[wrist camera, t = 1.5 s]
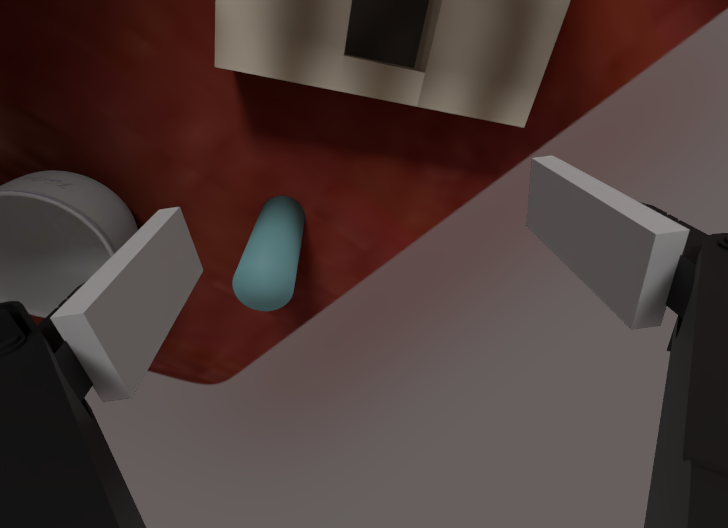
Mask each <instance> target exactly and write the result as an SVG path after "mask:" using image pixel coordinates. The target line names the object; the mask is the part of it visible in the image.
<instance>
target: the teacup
mask: <svg viewBox="0 0 728 528" xmlns="http://www.w3.org/2000/svg"><path fill="white" fill-rule="evenodd" d="M137 231H138V228H137V225H136V222H135V219H134V217H133V215H132V213H131V211H130V210H129V208H128V207H127V206H126V204H125V203H124V202H123V201H122V200H121V198H120V197H119V196H117V195H116V194H115V193H114V192H113V191H112V190H110V189H109V188H107V187H106V186H104V185H103V184H101V183H100V182H98V181H96V180H93V179H91V178H89V177H86V176H83V175H80V174H77V173H72V172H67V171H56V170H51V171H40V172H35V173H31V174H27V175H24V176H21V177H19V178H16V179H14V180H12V181H10V182H7V183H5V184H3V185H1V186H0V303H2V302H8V301H19V302H20V303H22V304H23V305H24V307H25V308H26V310H27V311H28V313H29V314H31V315H34V316H38V317H44V318H46V317H47V316H48V315H49V314H50V313H51V312H52V311H53V310H54V309H55V308H58V305H59V304H60V303H61V302H62V301H63V300H64V299H67V296H69V295H70V294H71V293H72V292H73V291H74V290H75V289H76V288H77V287H78V286H79V285H81V284H83V283H84V282H86V281H87V280H89V279H90V278H91V277H92V276H93V275H94V274H95V273H96V272H97V271H98V270H99V269H100V268H101V267H102V266H103V265H104V264H105V263H106V262H107V261H108V260H109V259H110V258H111V257H112V256H113V255H114V254H115V253H116V252H117V251H118V250H119V249H120V248H121V247H122V246H123V245H124V244H125V243H126V242H127V241H128V240H129V239H130V238H131V237H132V236H133V235H134V234H135V233H136V232H137Z"/></svg>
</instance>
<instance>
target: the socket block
mask: <svg viewBox="0 0 728 528" xmlns="http://www.w3.org/2000/svg"><path fill="white" fill-rule="evenodd" d="M570 1H571V0H216V9H215V67H218V68H223V69H228V70H233V71H238V72H243V73H249V74H254V75H259V76H264V77H269V78H274V79H279V80H284V81H289V82H294V83H299V84H304V85H309V86H315V87H320V88H325V89H330V90H335V91H340V92H345V93H350V94H355V95H360V96H365V97H370V98H376V99H381V100H386V101H391V102H396V103H401V104H406V105H411V106H416V107H421V108H426V109H431V110H437V111H442V112H447V113H452V114H457V115H462V116H467V117H472V118H477V119H482V120H487V121H492V122H497V123H503V124H508V125H513V126H518V127H523V128H524V127H525V124H526V121H527V119H528V116H529V113H530V110H531V108H532V105H533V102H534V99H535V97H536V94H537V91H538V89H539V86H540V83H541V80H542V78H543V75H544V72H545V69H546V67H547V64H548V61H549V58H550V56H551V53H552V50H553V47H554V45H555V42H556V39H557V37H558V34H559V31H560V28H561V26H562V23H563V20H564V17H565V15H566V12H567V9H568V6H569V4H570Z"/></svg>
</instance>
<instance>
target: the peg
mask: <svg viewBox="0 0 728 528" xmlns="http://www.w3.org/2000/svg"><path fill="white" fill-rule="evenodd" d="M304 222H305V213H304V210H303V208H302V206H301V205H300V204H299V203H298V202H297V201H296V200H294V199H293V198H290V197H287V196H276V197H273V198H271V199H269V200H268V201H266V203H265V204H264V205H263V207H262V210H261V212H260V214H259V217H258V219H257V222H256V224H255V226H254V229H253V231H252V234H251V236H250V239H249V241H248V243H247V246H246V248H245V251H244V253H243V255H242V258H241V260H240V263H239V265H238V268H237V270H236V272H235V275H234V278H233V290H234V293H235V295H236V296H237V298H238V299H239V300H240V301H241V302H242V303H243V304H244V305H246V306H248V307H249V308H252V309H255V310H259V311H273V310H277V309H279V308H281V307H283V306H284V305H286V304H287V303H288V302H289V301H290V299H291V298H292V295H293V292H294V286H295V280H296V273H297V267H298V260H299V254H300V248H301V241H302V235H303V228H304Z"/></svg>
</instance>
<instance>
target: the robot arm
mask: <svg viewBox="0 0 728 528" xmlns="http://www.w3.org/2000/svg"><path fill="white" fill-rule="evenodd" d="M530 174H531V175H530V185H529V197H528V198H529V199H528V209H527V222H526V226H527V227H528V228H529V229H530V230H531V231H532V232H533V233H534V234H535V235H536V236H537V237H538V238H539V239H540V240H541V241H542V242H543V243H544V244H545V245H546V246H547V247H548V248H549V249H550V250H551V251H552V252H553V253H554V254H555V255H556V256H557V257H558V258H559V259H560V260H561V261H562V262H563V263H564V264H565V265H566V266H567V267H568V268H569V269H570V270H571V271H572V272H573V273H574V274H576V276H577V277H578V278H579V279H580V280H581V281H583V283H584V284H586V286H587V287H588V288H590V289H591V290H592V291H593V292H594V293H595V294H596V295H597V296H598V297H599V298H600V299H601V300H602V301H603V302H604V303H605V304H606V305H607V306H608V307H609V308H610V309H611V310H612V311H613V312H614V313H615V314H616V315H617V316H618V317H619V318H620V319H621V320H622V321H623V322H624V323H625V324H626V325H627V326H628V327H629V328H630V329H631V330H633V329H640V328H648V327H655V326H660V325H661V322H662V319H663V316H664V313H665V310H666V306H668V307H669V308H670V309H671V310H673V311H674V312H675V313H676V314H678V317H677V321H676V324H675V327H674V330H673V333H672V336H671V339H670V342H669V345H668V348H667V351H670V359H669V366H668V372H667V379H666V386H665V392H664V399H663V405H662V412H661V419H660V425H659V432H658V439H657V445H656V452H655V458H654V465H653V472H652V478H651V485H650V491H649V499H648V505H647V512H646V518H645V524H644V528H728V233H721V234H712V235H707V234H705V233H703V232H701V231H700V230H698V229H696V228H694V227H692V226H690V225H688V224H686V223H685V222H683V221H678V219H677V218H675V217H673V216H671V215H667V213H666V212H664V211H662V210H660V209H658V208H656V207H654V206H652V205H648V204H644V203H641V202H638V201H636V200H634V199H632V198H630V197H628V196H626V195H624V194H623V193H621V192H619V191H617V190H615V189H613V188H612V187H610V186H608V185H606V184H604V183H603V182H601V181H599V180H597V179H595V178H593V177H592V176H590V175H588V174H586V173H584V172H582V171H581V170H578V169H577V168H575V167H573V166H571V165H569V164H568V163H566V162H564V161H562V160H560V159H558V158H556V157H555V156H553V155H552V156H543V157H536V158H532V161H531V173H530ZM202 272H203V268H202V266H201V263H200V260H199V258H198V255H197V252H196V249H195V247H194V244H193V241H192V239H191V236H190V233H189V230H188V228H187V225H186V222H185V220H184V217H183V214H182V211H181V209H180V207H174V208H167V209H160V210H158V211H157V212H156V213H155V214H154V215H153V216H152V217H151V218H150V219H149V220H148V221H147V222H146V223H145V224H144V225H143V226H142V227H141V228H140V229H139V230H138V231H137V232H136V233H135V234H134V235H133V236H132V237H131V238H130V239H129V240H128V241H127V242H126V243H125V244H124V245H123V246H122V247H121V248H120V249H119V250H118V251H117V252H116V253H115V254H114V255H113V256H112V257H111V258H110V259H109V260H108V261H107V262H106V263H105V264H104V265H103V266H102V267H101V268H100V269H99V270H98V271H97V272H96V273H95V274H94V275H93V276H92V277H91V278H90V279H89V280H87V281H86V282H84V283H83V284H81V285H79V286H78V287H77V288H76V289H75V290H74V291H73V292H72V293H71V294H70V295H69V296H67V299H64V300H63V301H62V302H61V303H60V304H59V305H58V308H55V309H54V310H53V311H52V312H51V313H50V314H49V315H48V316H47V317H46V318H45V319H44V320H43V321H42V322H41V323H40V324H39V325H38V326H37V325H36V324H35V322H34V321H33V319H32V318H31V316H30V314H29V313H28V311H27V310H26V308H25V307H24V305H23V304H22V303H20V302H19V301H8V302H2V303H0V528H146V526H145V524H144V522H143V520H142V518H141V515H140V513H139V511H138V509H137V507H136V505H135V503H134V500H133V498H132V496H131V494H130V492H129V490H128V487H127V485H126V483H125V481H124V479H123V477H122V474H121V472H120V470H119V468H118V466H117V464H116V461H115V460H114V457H113V455H112V453H111V451H110V449H109V446H108V444H107V442H106V440H105V438H104V435H103V433H102V431H101V429H100V427H99V425H98V423H97V420H96V418H95V416H94V414H93V412H92V409H91V407H90V406H89V405H88V403H87V401H86V400H85V398H84V397H85V396H86V394H87V393H88V391H89V390H90V388H91V387H92V386H93V387H94V389H95V390H96V392H97V393H98V395H99V397H100V398H101V400H102V401H103V402H106V401H114V400H121V399H128V398H132V397H133V395H134V393H135V392H136V390H137V388H138V386H139V384H140V382H141V381H142V379H143V377H144V375H145V373H146V372H147V370H148V368H149V367H150V365H151V363H152V361H153V359H154V358H155V356H156V354H157V352H158V350H159V349H160V347H161V345H162V343H163V341H164V340H165V338H166V336H167V334H168V333H169V331H170V329H171V327H172V325H173V324H174V322H175V320H176V318H177V316H178V315H179V313H180V311H181V309H182V308H183V306H184V304H185V302H186V300H187V299H188V297H189V295H190V293H191V291H192V290H193V288H194V286H195V284H196V283H197V281H198V279H199V277H200V275H201V274H202Z"/></svg>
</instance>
